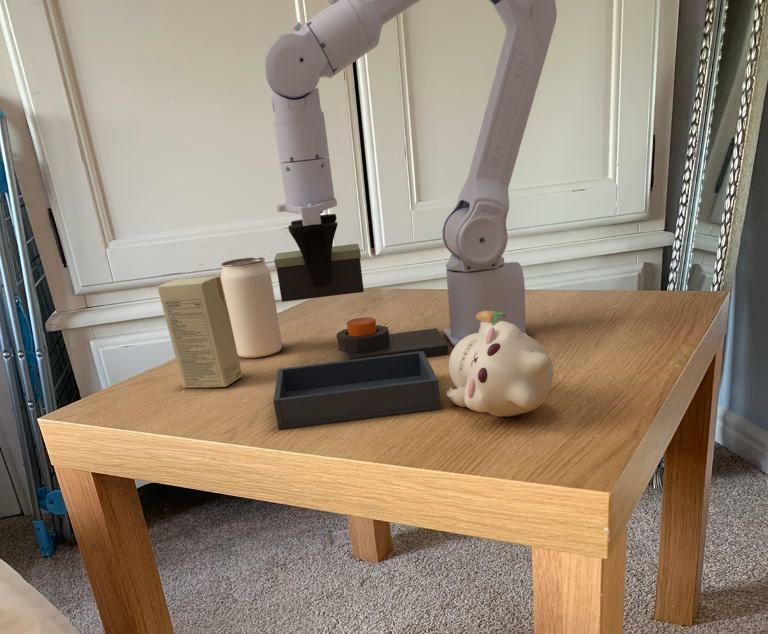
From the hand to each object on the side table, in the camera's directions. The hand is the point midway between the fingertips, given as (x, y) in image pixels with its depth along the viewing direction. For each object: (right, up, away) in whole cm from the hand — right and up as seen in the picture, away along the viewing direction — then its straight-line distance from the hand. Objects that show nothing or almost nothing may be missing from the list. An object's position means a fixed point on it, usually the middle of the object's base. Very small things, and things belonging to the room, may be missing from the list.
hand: (321, 281), depth 93 cm
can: (-9, -7, +10) cm, 15 cm away
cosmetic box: (-13, -13, -1) cm, 18 cm away
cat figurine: (+19, -19, -20) cm, 33 cm away
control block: (+9, -8, +3) cm, 13 cm away
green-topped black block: (0, -1, +1) cm, 1 cm away
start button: (+5, -6, +2) cm, 8 cm away
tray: (+5, -17, -13) cm, 22 cm away
